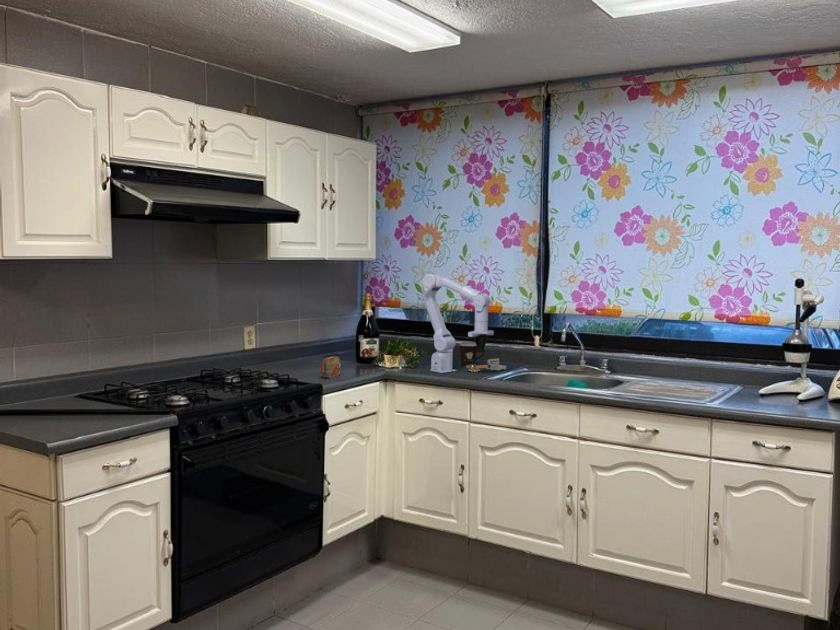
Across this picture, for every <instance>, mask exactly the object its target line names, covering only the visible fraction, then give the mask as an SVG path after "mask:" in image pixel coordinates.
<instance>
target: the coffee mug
mask: <svg viewBox="0 0 840 630" xmlns="http://www.w3.org/2000/svg"><path fill="white" fill-rule="evenodd" d="M458 349H459V358H460V366H461V367H463V366H466V365H470V364H475V365H476V361H477V360H478V359H481V358H482V357H483V356H484V354H485V352H486V351H485V349H484V352H483V353H482V354H481V355H480V356H478V357H477V352H478V350H477V346H476V343H460V344H459V345H458Z"/></svg>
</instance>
